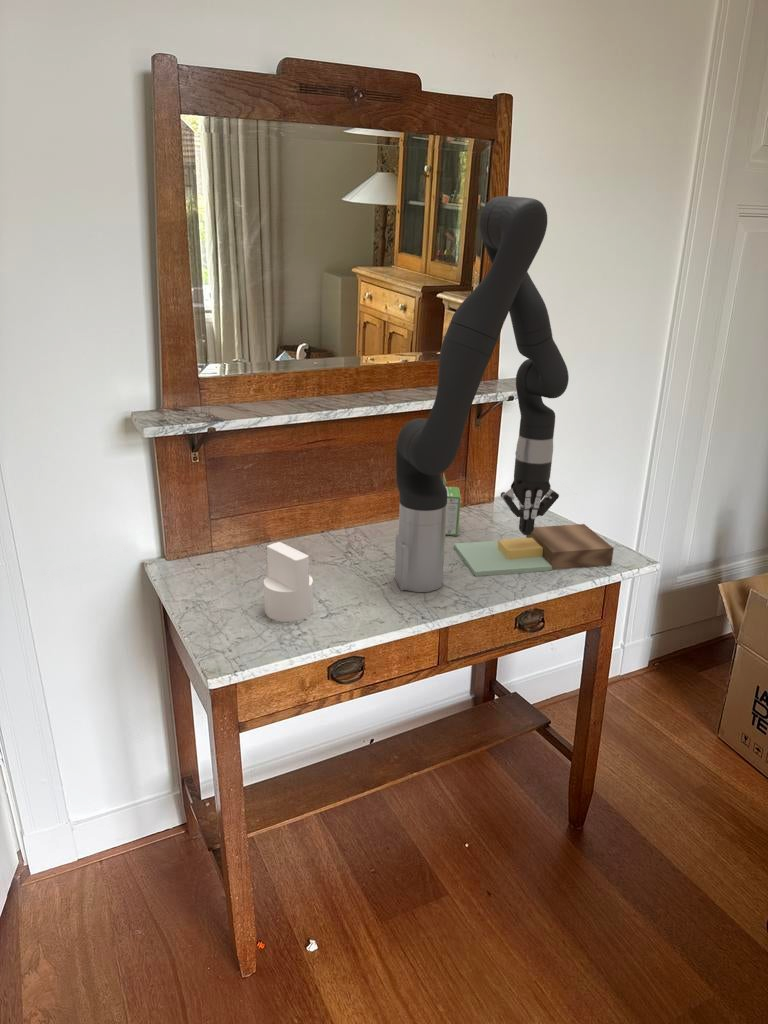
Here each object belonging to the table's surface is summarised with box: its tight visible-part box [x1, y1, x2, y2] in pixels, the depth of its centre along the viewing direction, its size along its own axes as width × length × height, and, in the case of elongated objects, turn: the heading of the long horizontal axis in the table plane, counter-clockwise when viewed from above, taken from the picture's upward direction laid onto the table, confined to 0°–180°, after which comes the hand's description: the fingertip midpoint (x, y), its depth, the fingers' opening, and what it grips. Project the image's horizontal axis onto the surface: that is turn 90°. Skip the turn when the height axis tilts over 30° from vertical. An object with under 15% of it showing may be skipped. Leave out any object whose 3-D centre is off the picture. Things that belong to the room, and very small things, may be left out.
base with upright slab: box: [263, 541, 314, 623], centre depth 139 cm, size 9×9×12 cm
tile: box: [497, 537, 543, 559], centre depth 165 cm, size 8×6×2 cm
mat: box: [453, 540, 553, 577], centre depth 164 cm, size 17×15×1 cm
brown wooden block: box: [525, 523, 614, 570], centre depth 167 cm, size 14×14×4 cm
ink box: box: [442, 472, 462, 537], centre depth 177 cm, size 7×4×13 cm, turn 179°
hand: (525, 533), depth 164 cm, fingers closed
